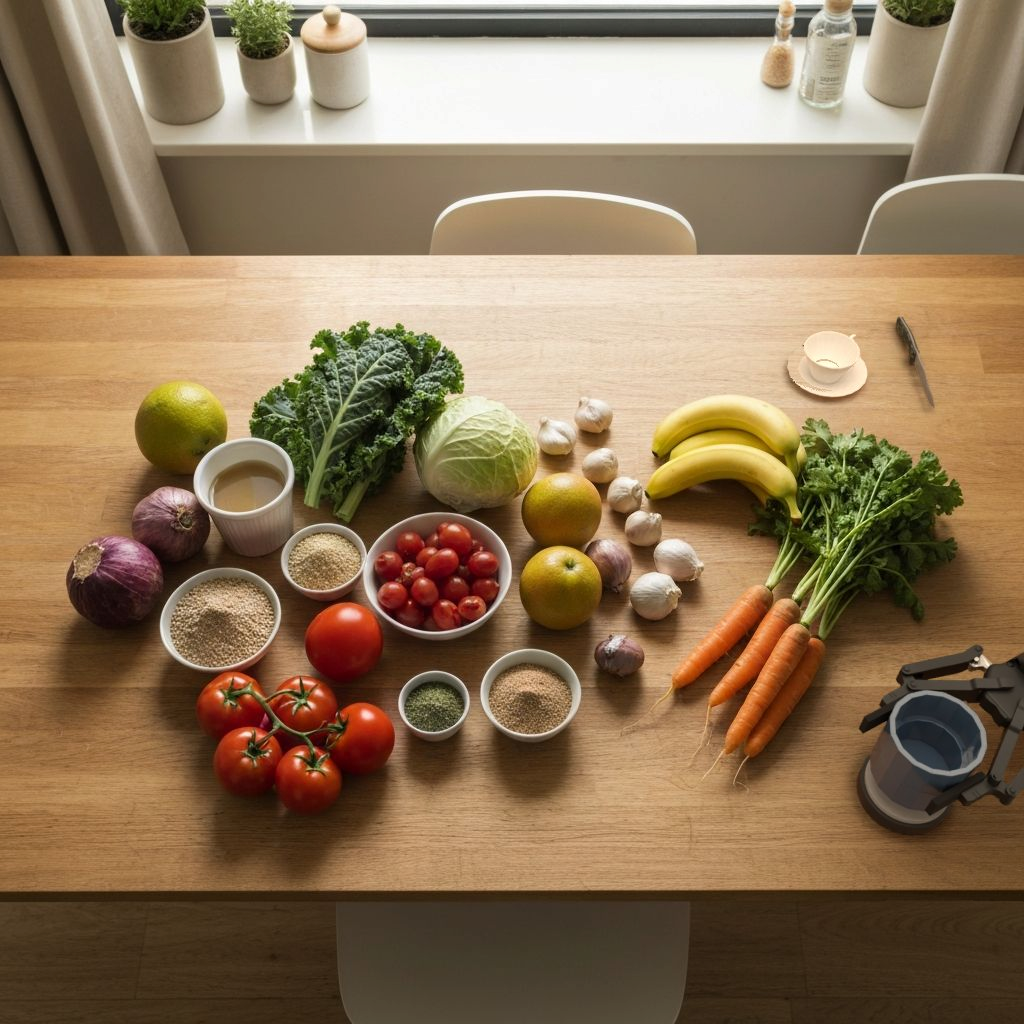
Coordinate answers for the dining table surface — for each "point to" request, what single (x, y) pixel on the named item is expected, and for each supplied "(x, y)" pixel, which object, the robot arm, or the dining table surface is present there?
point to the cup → (927, 748)
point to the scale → (893, 808)
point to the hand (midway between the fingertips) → (896, 765)
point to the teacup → (832, 364)
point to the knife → (914, 356)
